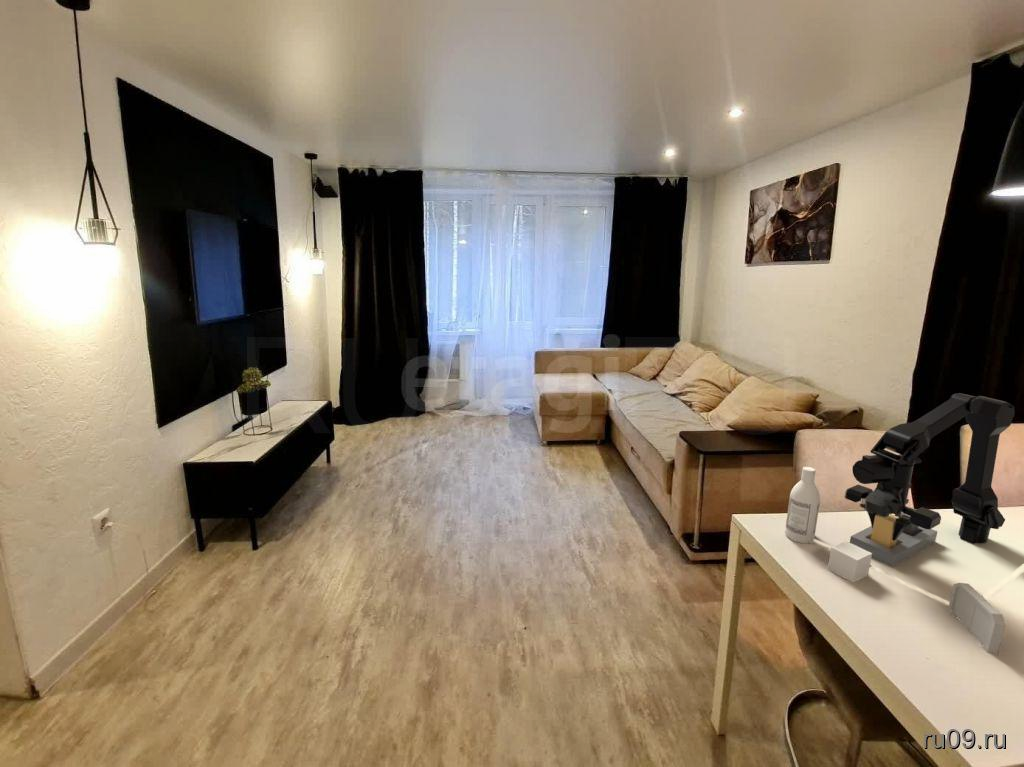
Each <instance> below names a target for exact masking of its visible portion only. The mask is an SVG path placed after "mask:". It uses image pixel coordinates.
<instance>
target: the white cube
mask: <svg viewBox="0 0 1024 767" xmlns="http://www.w3.org/2000/svg"><path fill="white" fill-rule="evenodd" d="M872 558H873V557H872V553H870V552H868V551H866V550H864V549H862V548H860V547H858V546H855V545H853V544H851V543H850V541H847V540H845V541H843V542H840V543H838V544H836V545H832V547H830V554H829V559H828V565H827V569H828V570H829V571H830V572H832V573H835V574H837V575H839V576H840V577H843V578H844V579H846V580H848V581H850V582H852V583H856V582H858V581H860V580H861V579H863V578H866V577H868V576H869V573H870V566H871V562H872Z"/></svg>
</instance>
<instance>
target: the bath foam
mask: <svg viewBox="0 0 1024 767" xmlns="http://www.w3.org/2000/svg"><path fill="white" fill-rule="evenodd" d="M816 472H817V471H816V469H815V468H814V467H811V466H803V467H802V472H801V477H800V479H801V480H799V481H798V482H797V483H796V484H794V486H793V488H791V491H790V494H789V499H788V508H787V515H786V520H785V530H784V533H785V536H786V537H787V538H788V539H790V540H791V541H793V542H796V543H801V544H810V543H812V542H814V540H815V535H816V530H817V524H818V518H819V512H820V504H821V494H820V491H819V488H818V487H817V485H816V484H815V476H816Z"/></svg>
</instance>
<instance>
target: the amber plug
mask: <svg viewBox="0 0 1024 767" xmlns="http://www.w3.org/2000/svg"><path fill="white" fill-rule="evenodd" d="M894 515H895V514H889V515H888V516H887V517H882V516H879V515H878V514H877V515H875V519H874V524H873V530H872V535H871V540H872V541H875V542H877V543H879V544H882V545H884V546H886V547H888V548H893V547H895V546H896V542H897V539H896V540H895V541H894V540H893V533H894V530H895V527H896V524H897V522H896V519H897V518H899V517H897V516H894Z"/></svg>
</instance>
